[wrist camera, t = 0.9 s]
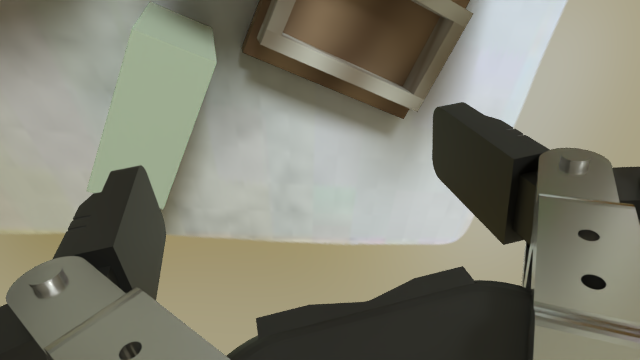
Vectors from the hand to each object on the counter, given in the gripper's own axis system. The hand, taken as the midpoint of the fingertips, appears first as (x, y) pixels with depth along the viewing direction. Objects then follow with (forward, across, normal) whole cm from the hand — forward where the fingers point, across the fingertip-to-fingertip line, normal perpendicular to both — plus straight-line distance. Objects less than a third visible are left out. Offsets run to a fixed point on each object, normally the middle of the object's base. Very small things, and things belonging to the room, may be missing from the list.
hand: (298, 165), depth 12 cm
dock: (+21, -8, 0) cm, 22 cm away
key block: (+20, +6, +2) cm, 22 cm away
